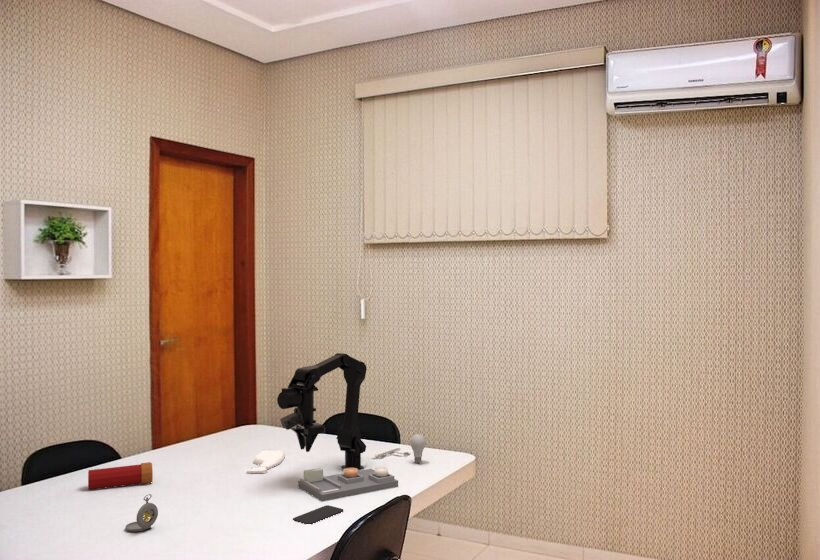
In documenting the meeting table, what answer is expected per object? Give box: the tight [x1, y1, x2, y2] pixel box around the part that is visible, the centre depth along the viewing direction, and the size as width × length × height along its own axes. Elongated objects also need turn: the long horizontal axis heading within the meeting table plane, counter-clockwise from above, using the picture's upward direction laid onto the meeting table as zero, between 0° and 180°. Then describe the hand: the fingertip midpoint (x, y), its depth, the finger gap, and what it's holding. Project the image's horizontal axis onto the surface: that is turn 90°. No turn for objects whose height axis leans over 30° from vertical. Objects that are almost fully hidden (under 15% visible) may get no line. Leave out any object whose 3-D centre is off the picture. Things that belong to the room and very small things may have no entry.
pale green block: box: [303, 467, 324, 483], centre depth 226 cm, size 2×6×4 cm, turn 124°
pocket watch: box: [125, 493, 159, 533], centre depth 186 cm, size 8×8×10 cm
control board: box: [297, 468, 399, 502], centre depth 226 cm, size 18×28×4 cm, turn 124°
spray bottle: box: [245, 450, 286, 474], centre depth 254 cm, size 3×11×24 cm
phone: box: [292, 504, 344, 525], centre depth 198 cm, size 7×1×15 cm
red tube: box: [87, 461, 154, 491], centre depth 227 cm, size 7×20×7 cm, turn 114°
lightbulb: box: [409, 433, 427, 464], centre depth 257 cm, size 6×6×11 cm
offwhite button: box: [374, 466, 389, 477], centre depth 228 cm, size 5×5×2 cm
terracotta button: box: [343, 468, 359, 477], centre depth 227 cm, size 5×5×2 cm
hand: (305, 450), depth 231 cm, fingers open, 4 cm apart
